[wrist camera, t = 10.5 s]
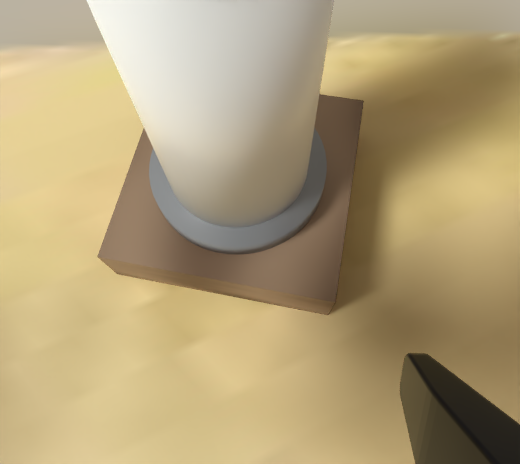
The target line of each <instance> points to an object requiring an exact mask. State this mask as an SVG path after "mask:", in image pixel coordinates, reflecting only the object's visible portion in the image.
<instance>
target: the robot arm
mask: <svg viewBox="0 0 520 464" xmlns="http://www.w3.org/2000/svg"><path fill="white" fill-rule="evenodd" d="M400 396H401V401H402V405H403V410H404V414H405V419H406V423H407V428H408V433H409V437H410V442H411V446H412V451H413V455H414V459H415V464H520V424H519V423H517V422H516V421H515V420H513V419H512V418H511V417H509V416H508V415H507V414H506V413H504V412H503V411H502V410H500V409H499V408H498V407H496V406H495V405H494V404H492V403H491V402H490V401H488V400H487V399H486V398H485V397H483V396H482V395H481V394H479V393H478V392H477V391H475V390H474V389H473V388H471V387H470V386H469V385H467V384H466V383H465V382H464V381H462V380H461V379H460V378H458V377H457V376H456V375H454V374H453V373H452V372H450V371H449V370H448V369H446V368H445V367H444V366H443V365H441V364H440V363H439V362H437V361H436V360H435V359H433V358H432V357H431V356H429V355H428V354H424V353H408V354H407V355H406V356H405V359H404V364H403V370H402V376H401V382H400Z"/></svg>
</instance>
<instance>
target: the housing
mask: <svg viewBox="0 0 520 464" xmlns="http://www.w3.org/2000/svg"><path fill="white" fill-rule="evenodd" d="M86 1H87V3H88V5H89V7H90V9H91V12H92V14H93V16H94V18H95V21H96V23H97V25H98V27H99V29H100V32H101V34H102V36H103V38H104V41H105V43H106V45H107V47H108V49H109V52H110V54H111V56H112V58H113V60H114V63H115V65H116V67H117V69H118V71H119V74H120V76H121V78H122V80H123V82H124V85H125V87H126V89H127V91H128V93H129V96H130V98H131V100H132V102H133V105H134V107H135V109H136V111H137V113H138V116H139V118H140V120H141V122H142V124H143V127H144V129H145V131H146V133H147V135H148V138H149V140H150V142H151V144H152V146H153V150H152V153H151V158H150V164H149V178H150V186H151V189H152V193H153V196H154V198H155V200H156V202H157V204H158V206H159V208H160V210H161V212H162V213H163V215H164V217H165V218H166V220H167V221H168V223H169V224H170V225H171V226H172V227H173V228H174V230H175V231H176V232H178V233H179V234H180V235H181V236H182V237H183V238H185V239H186V240H188V241H190V242H191V243H193V244H195V245H197V246H199V247H201V248H203V249H207V250H210V251H213V252H217V253H223V254H235V255H240V254H251V253H256V252H261V251H264V250H267V249H270V248H273V247H275V246H277V245H280V244H282V243H284V242H285V241H287V240H288V239H290V238H291V237H293V236H294V235H295V234H296V233H298V232H299V231H300V230H301V229H302V228H303V227H304V226H305V225H306V224H307V223H308V221H309V220H310V219H311V217H312V216H313V214H314V213H315V211H316V209H317V207H318V205H319V202H320V199H321V196H322V193H323V189H324V184H325V179H326V173H327V160H326V153H325V149H324V146H323V143H322V140H321V138H320V136H319V134H318V132H317V131H316V129H315V128H314V126H315V120H316V113H317V107H318V100H319V94H320V87H321V81H322V74H323V68H324V61H325V55H326V49H327V42H328V36H329V29H330V23H331V15H332V10H333V3H334V0H86Z"/></svg>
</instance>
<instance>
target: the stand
mask: <svg viewBox="0 0 520 464" xmlns="http://www.w3.org/2000/svg"><path fill="white" fill-rule="evenodd" d="M362 109H363V101H361V100H354V99H347V98H341V97H334V96H327V95H320V94H319V100H318V107H317V113H316V120H315V126H314V128H315V129H316V131H317V132H318V134H319V136H320V138H321V140H322V143H323V146H324V149H325V153H326V160H327V173H326V179H325V184H324V189H323V193H322V196H321V199H320V202H319V205H318V207H317V209H316V211H315V213H314V214H313V216H312V217H311V219H310V220H309V221H308V223H307V224H306V225H305V226H304V227H303V228H302V229H301V230H300V231H299V232H298V233H296V234H295V235H294V236H293V237H291V238H290V239H288V240H287V241H285V242H284V243H282V244H280V245H277V246H275V247H273V248H270V249H267V250H264V251H261V252H256V253H251V254H240V255H235V254H223V253H217V252H213V251H210V250H207V249H203V248H201V247H199V246H197V245H195V244H193V243H191V242H190V241H188V240H186V239H185V238H183V237H182V236H181V235H180V234H179V233H178V232H176V231H175V230H174V228H173V227H172V226H171V225H170V224H169V223H168V221H167V220H166V218H165V217H164V215H163V213H162V212H161V210H160V208H159V206H158V204H157V202H156V200H155V198H154V196H153V193H152V189H151V186H150V178H149V164H150V158H151V153H152V150H153V146H152V144H151V142H150V140H149V138H148V135H147V133H146V131H145V129H143V132H142V135H141V137H140V140H139V143H138V146H137V149H136V151H135V154H134V157H133V160H132V162H131V165H130V168H129V171H128V174H127V176H126V179H125V182H124V185H123V187H122V190H121V193H120V196H119V199H118V201H117V204H116V207H115V210H114V212H113V215H112V218H111V221H110V223H109V226H108V229H107V232H106V235H105V237H104V240H103V243H102V246H101V248H100V251H99V254H98V258H99V259H101V260H102V261H103V262H104V263H105V264H106V265H107V266H109V267H110V268H111V269H112V270H113V271H114V272H116V273H117V274H120V275H125V276H131V277H136V278H141V279H146V280H151V281H156V282H161V283H166V284H172V285H177V286H182V287H187V288H192V289H197V290H202V291H207V292H213V293H218V294H223V295H228V296H233V297H238V298H243V299H248V300H254V301H259V302H264V303H269V304H274V305H279V306H284V307H289V308H295V309H300V310H305V311H310V312H315V313H320V314H325V315H328V314H329V312H330V311H331V309H332V307H333V306H334V304H335V302H336V295H337V288H338V281H339V273H340V266H341V259H342V252H343V245H344V238H345V230H346V223H347V216H348V209H349V202H350V195H351V187H352V180H353V173H354V166H355V159H356V152H357V144H358V137H359V130H360V123H361V116H362Z"/></svg>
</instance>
